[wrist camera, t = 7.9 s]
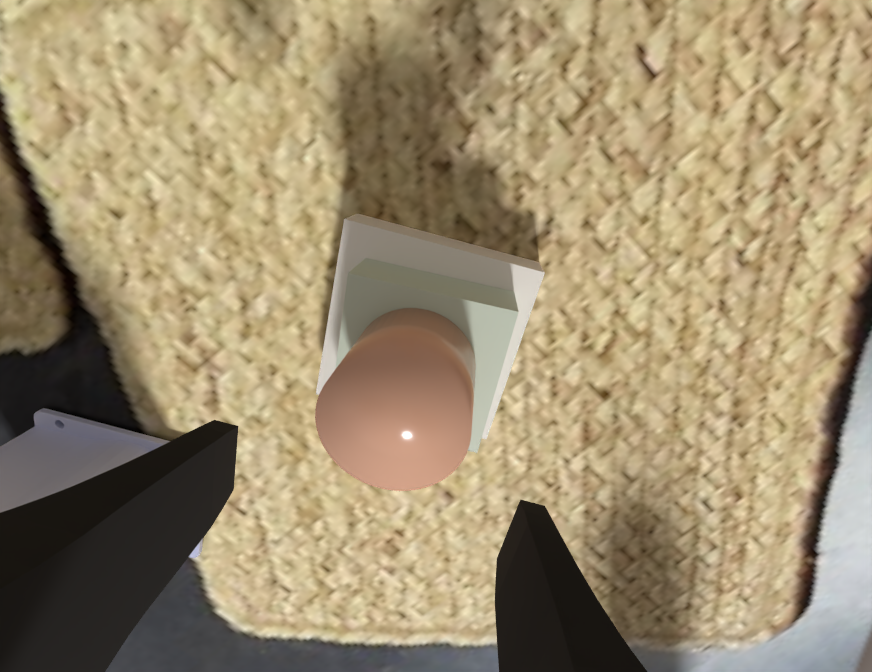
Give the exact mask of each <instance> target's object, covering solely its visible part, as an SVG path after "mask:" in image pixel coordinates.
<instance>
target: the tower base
mask: <svg viewBox="0 0 872 672" xmlns="http://www.w3.org/2000/svg"><path fill="white" fill-rule="evenodd" d="M365 258H368V259H373V260H377V261H382V262H386V263H390V264H395V265H399V266H404V267H408V268H412V269H417V270H421V271H426V272H430V273H435V274H439V275H443V276H448V277H452V278H457V279H461V280H465V281H470V282H474V283H479V284H483V285H487V286H492V287H496V288H501V289H505V290H509V291H514V293H515V298H516V302H517V307H518V311H519V312H518V316H517V319H516V323H515V326H514V329H513V333H512V336H511V340H510V343H509V346H508V350H507V353H506V357H505V360H504V363H503V367H502V370H501V374H500V377H499V380H498V384H497V387H496V391H495V394H494V397H493V401H492V404H491V408H490V411H489V414H488V418H487V421H486V425H485V428H484V431H483V435H482V438H483V439H487V436H488V433H489V430H490V427H491V425H492V422H493V419H494V416H495V413H496V410H497V407H498V405H499V402H500V399H501V396H502V393H503V390H504V387H505V385H506V382H507V379H508V376H509V373H510V370H511V368H512V365H513V362H514V359H515V356H516V353H517V350H518V348H519V345H520V342H521V339H522V336H523V333H524V330H525V328H526V325H527V322H528V319H529V316H530V313H531V311H532V308H533V305H534V302H535V299H536V296H537V293H538V291H539V288H540V285H541V282H542V279H543V276H544V274H545V272H544V270H543V268H542V266H541V265H540V263H539V262H537V261H533V260H529V259H526V258H522V257H518V256H515V255H511V254H507V253H503V252H500V251H496V250H492V249H488V248H485V247H481V246H477V245H474V244H470V243H466V242H462V241H459V240H455V239H451V238H447V237H444V236H440V235H436V234H433V233H429V232H425V231H421V230H418V229H414V228H410V227H407V226H403V225H399V224H395V223H392V222H388V221H384V220H380V219H377V218H373V217H369V216H366V215H362V214H358V213H356V214H354V215H352V216H350V217H347V218H345V219H344V224H343V230H342V236H341V242H340V248H339V254H338V261H337V267H336V273H335V279H334V285H333V291H332V298H331V304H330V310H329V316H328V322H327V329H326V335H325V341H324V347H323V353H322V359H321V366H320V372H319V378H318V384H317V390H316V394H318V395H319V394H320V392H321V390H322V388H323V386H324V384H325V383H326V382H327V380H328V379H329V378H330V376H331V375H332V373H333V372H334V371H335V368H336V361H337V353H338V345H339V338H340V330H341V322H342V315H343V307H344V299H345V292H346V284H347V276H348V273H349V272H350V271H351V270H352V269H353V268H354V267H356V266H357V265H358V264H359V263H360V262H362V261H363V260H364V259H365Z"/></svg>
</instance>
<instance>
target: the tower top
mask: <svg viewBox="0 0 872 672" xmlns="http://www.w3.org/2000/svg"><path fill="white" fill-rule="evenodd" d="M403 308H419V309H426V310H429V311H433V312H435V313H438V314H440V315H442V316H444V317H445V318H447V319H449V320H450V321H452V322H453V323H454V324H455V325H456V326H457V327H458V328H459V329H461V331H462V332H463V333H464V334H465V336H466V337H467V339H468V340H469V342H470V344H471V346H472V349H473V352H474V355H475V361H476V377H475V391H474V405H473V419H472V433H471V440H470V445H469V448H468V451H472V452H476V453H477V452H478V448H479V445H480V442H481V438H482V435H483V431H484V428H485V425H486V421H487V418H488V414H489V411H490V408H491V404H492V401H493V397H494V394H495V391H496V387H497V384H498V380H499V377H500V374H501V370H502V367H503V363H504V360H505V357H506V353H507V350H508V346H509V343H510V340H511V336H512V333H513V329H514V326H515V323H516V319H517V316H518V312H519V311H518V307H517V302H516V298H515V293H514V291H509V290H505V289H501V288H496V287H492V286H487V285H483V284H479V283H474V282H470V281H465V280H461V279H457V278H452V277H448V276H443V275H439V274H435V273H430V272H426V271H421V270H417V269H412V268H408V267H404V266H399V265H395V264H390V263H386V262H382V261H377V260H373V259H368V258H365V259H364V260H363V261H362V262H360V263H359V264H358V265H357V266H356V267H354V268H353V269H352V270H351V271H350V272H349V273H348V276H347V284H346V292H345V299H344V307H343V315H342V322H341V330H340V338H339V345H338V353H337V361H336V368H337V367H338V365H339V364H340V363H341V361H342V360H343V359H344V357H345V356H346V354H347V353H348V352H349V350H350V349H351V348H352V346H353V345H354V344H355V342H356V341H357V339H358V338H359V337H360V335H361V334H362V333H363V331H364V330H365V329H366V327H367V326H368V325H369V324H370V323H371V322H372V321H374V320H375V319H376V318H378V317H379V316H381V315H383V314H385V313H387V312H390V311H393V310H397V309H403ZM336 368H335V369H336Z"/></svg>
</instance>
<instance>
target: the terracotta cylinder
mask: <svg viewBox="0 0 872 672" xmlns="http://www.w3.org/2000/svg"><path fill="white" fill-rule="evenodd" d="M475 377H476V361H475V355H474V352H473V349H472V346H471V344H470V342H469V340H468V339H467V337H466V336H465V334H464V333H463V332H462V331H461V329H459V328H458V327H457V326H456V325H455V324H454V323H453V322H452V321H450V320H449V319H447V318H445V317H444V316H442V315H440V314H438V313H435V312H433V311H429V310H426V309H419V308H403V309H397V310H393V311H390V312H387V313H385V314H383V315H381V316H379V317H378V318H376V319H375V320H374V321H372V322H371V323H370V324H369V325H368V326H367V327H366V329H365V330H364V331H363V333H362V334H361V335H360V337H359V338H358V339H357V341H356V342H355V344H354V345H353V346H352V348H351V349H350V350H349V352H348V353H347V354H346V356H345V357H344V359H343V360H342V361H341V363H340V364H339V365H338V367H337V368H336V369H335V371H334V372H333V373H332V375H331V376H330V378H329V379H328V380H327V382H326V383H325V384H324V386H323V388H322V390H321V392H320V394H319V397H318V400H317V404H316V414H315V419H316V427H317V431H318V434H319V437H320V440H321V442H322V444H323V446H324V448H325V449H326V451H327V453H328V454H329V455H330V457H331V458H332V459H333V460H334V461H335V462H336V463H337V464H338V465H339V466H340V467H341V468H342V469H343V470H344V471H346V472H347V473H348V474H350V475H351V476H353V477H354V478H356V479H358V480H360V481H362V482H364V483H367V484H369V485H371V486H375V487H378V488H382V489H388V490H397V491H408V490H416V489H421V488H425V487H428V486H431V485H434V484H436V483H438V482H440V481H442V480H443V479H445V478H446V477H448V476H449V475H450V474H452V473H453V472H454V471H455V470H456V469H457V468H458V466H459V465H460V464H461V462H462V461H463V459H464V457H465V456H466V454H467V451H468V448H469V445H470V440H471V433H472V419H473V405H474V391H475Z"/></svg>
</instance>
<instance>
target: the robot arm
mask: <svg viewBox="0 0 872 672" xmlns="http://www.w3.org/2000/svg"><path fill="white" fill-rule="evenodd" d="M34 423H35V427H33V428H31V429H29V430H28V431H26V432H24V433H23V434H21V435H19V436H18V437H16V438H14V439H13V440H11V441H9V442H8V443H6V444H4V445H3V446H1V447H0V672H105V671H106V669H107V668H108V666H109V665H110V663H111V662H112V660H113V658H114V657H115V655H116V654H117V652H118V651H119V649H120V648H121V646H122V645H123V643H124V642H125V640H126V639H127V637H128V636H129V634H130V633H131V631H132V630H133V629H134V627H135V626H136V624H137V623H138V622H139V620H140V619H141V618H142V616H143V615H144V613H145V612H146V611H147V610H148V608H149V607H150V606H151V604H152V603H153V602H154V601H155V599H156V598H157V597H158V595H159V594H160V593H161V592H162V590H163V589H164V588H165V586H166V585H167V584H168V583H169V581H170V580H171V579H172V577H173V576H174V575H175V574H176V572H177V571H178V570H179V568H180V567H181V566H182V565H183V563H184V562H185V561H186V559H187V558H188V557H191V558H195V557H198V556H199V554H200V553H201V552H202V542H203V537H204V536H205V535H206V533H207V532H208V531H209V529H210V528H211V526H212V525H213V523H214V522H215V520H216V518H217V517H218V515H219V514H220V512H221V510H222V509H223V507H224V505H225V503H226V502H227V500H228V498H229V497H230V495H231V493H232V491H233V489H234V476H235V462H236V449H237V435H238V426H236V425H232V424H228V423H224V422H220V421H216V420H213V421H211V422H209V423H207V424H205V425H203V426H201V427H199V428H197V429H194V430H192V431H190V432H188V433H186V434H184V435H182V436H180V437H178V438H176V439H174V440H172V441H167V440H163V439H160V438H156V437H152V436H148V435H144V434H141V433H137V432H133V431H129V430H126V429H122V428H118V427H114V426H110V425H107V424H103V423H99V422H95V421H92V420H88V419H84V418H80V417H76V416H73V415H69V414H65V413H61V412H57V411H54V410H50V409H45V408H43V409H40V410H39V411H37V412H35V413H34ZM495 612H496V629H497V645H498V660H499V672H647V671H646V669H645V668H644V667H643V665H642V664H641V663H640V661H639V660H638V659H637V657H636V656H635V655H634V653H633V652H632V651H631V649H630V648H629V646H628V645H627V644H626V642H625V641H624V639H623V638H622V636H621V635H620V633H619V632H618V631H617V629H616V627H615V626H614V624H613V623H612V621H611V620H610V618H609V617H608V615H607V614H606V612H605V611H604V609H603V608H602V606H601V605H600V603H599V601H598V600H597V598H596V596H595V595H594V593H593V592H592V590H591V588H590V586H589V585H588V583H587V581H586V580H585V578H584V576H583V575H582V573H581V571H580V569H579V568H578V566H577V564H576V562H575V561H574V559H573V557H572V555H571V553H570V552H569V550H568V548H567V546H566V544H565V543H564V541H563V539H562V537H561V535H560V533H559V531H558V530H557V528H556V526H555V524H554V522H553V520H552V518H551V517H550V515H549V513H548V511H547V509H546V508H545V506H543V505H539V504H535V503H531V502H528V501H524V500H520V502H519V505H518V507H517V510H516V512H515V515H514V517H513V520H512V522H511V525H510V527H509V530H508V532H507V535H506V537H505V540H504V542H503V545H502V547H501V550H500V553H499V555H498V558H497V568H496V587H495Z"/></svg>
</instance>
